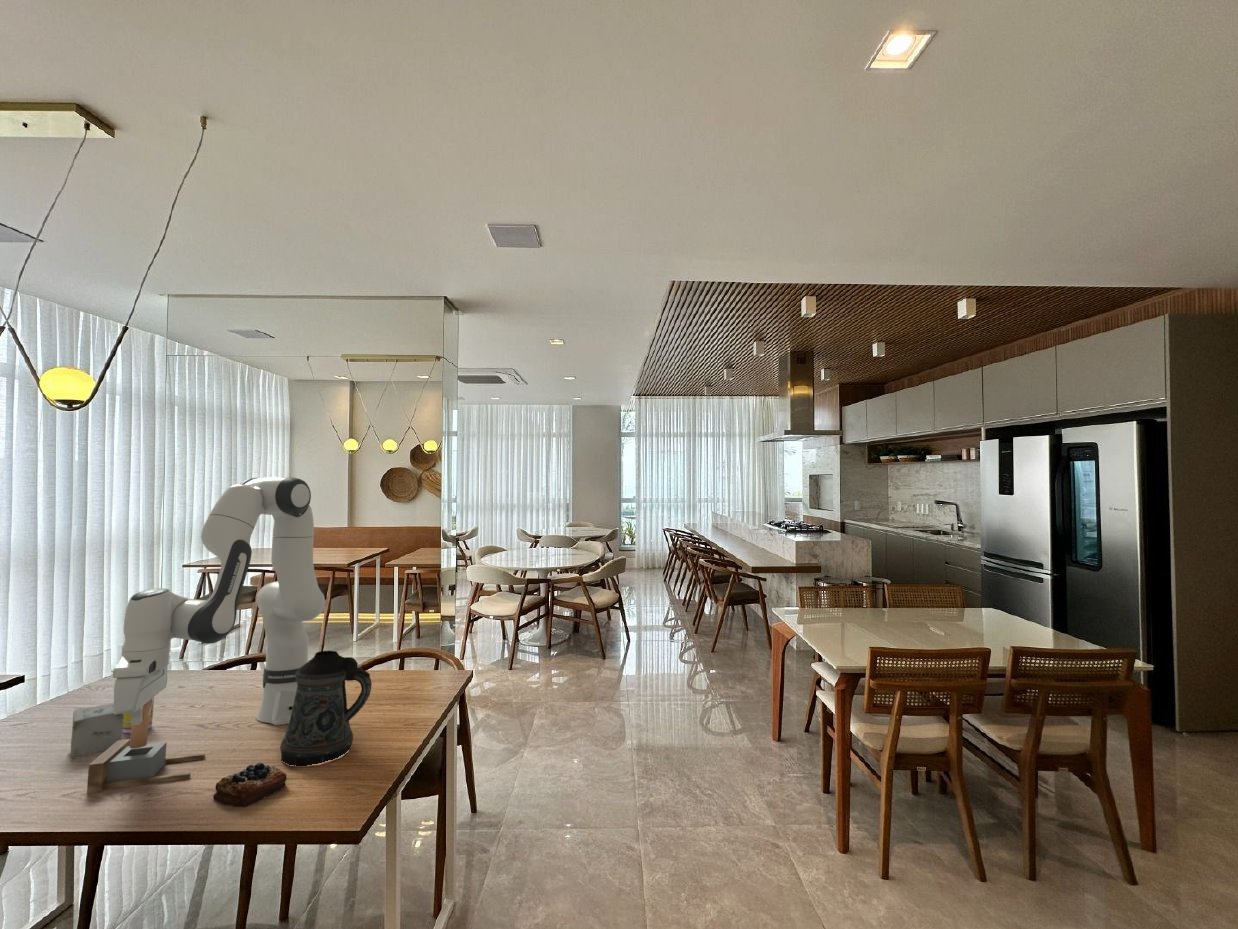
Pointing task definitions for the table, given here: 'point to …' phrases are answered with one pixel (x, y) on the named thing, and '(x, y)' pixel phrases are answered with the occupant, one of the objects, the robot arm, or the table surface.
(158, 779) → the rail frame
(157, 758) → the block
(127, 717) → the supplement bottle
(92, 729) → the incense holder
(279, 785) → the pastry
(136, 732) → the dowel
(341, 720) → the beer stein
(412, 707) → the table surface
